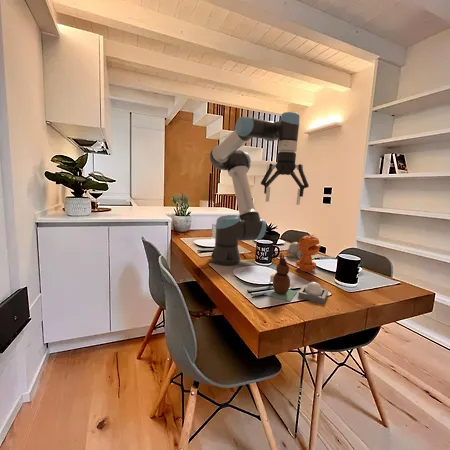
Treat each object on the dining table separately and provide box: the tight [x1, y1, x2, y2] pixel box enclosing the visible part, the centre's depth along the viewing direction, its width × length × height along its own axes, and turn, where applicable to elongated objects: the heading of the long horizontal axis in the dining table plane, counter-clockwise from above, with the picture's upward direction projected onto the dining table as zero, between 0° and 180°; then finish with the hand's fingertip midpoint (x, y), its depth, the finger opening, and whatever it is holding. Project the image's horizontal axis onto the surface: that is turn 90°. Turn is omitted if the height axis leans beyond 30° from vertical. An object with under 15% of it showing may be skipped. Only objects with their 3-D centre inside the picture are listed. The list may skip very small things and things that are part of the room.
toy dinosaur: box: [295, 234, 322, 273], centre depth 128 cm, size 11×11×18 cm
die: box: [269, 272, 277, 283], centre depth 110 cm, size 4×4×4 cm
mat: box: [263, 289, 298, 302], centre depth 100 cm, size 10×10×1 cm
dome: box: [304, 281, 324, 297], centre depth 99 cm, size 6×6×5 cm
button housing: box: [297, 284, 329, 305], centre depth 100 cm, size 9×9×2 cm
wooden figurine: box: [273, 252, 291, 294], centre depth 99 cm, size 7×6×15 cm
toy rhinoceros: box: [286, 241, 303, 259], centre depth 150 cm, size 7×12×8 cm, turn 26°
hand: (282, 203), depth 114 cm, fingers open, 13 cm apart
